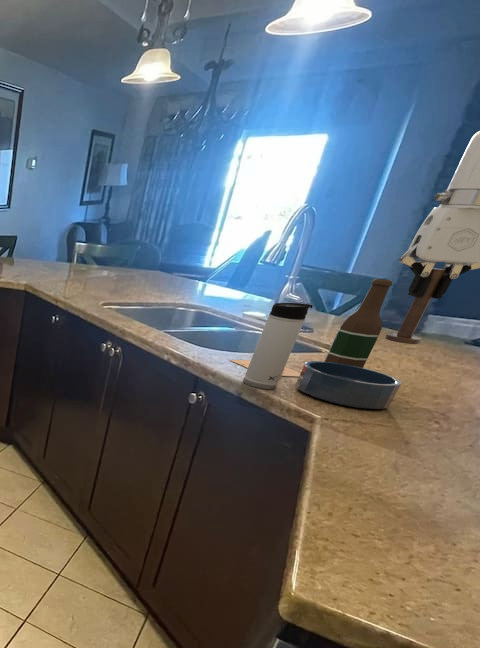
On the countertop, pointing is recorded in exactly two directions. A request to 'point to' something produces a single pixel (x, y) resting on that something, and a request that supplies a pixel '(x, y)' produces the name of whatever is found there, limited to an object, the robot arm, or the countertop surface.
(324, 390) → the bowl
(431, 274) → the wooden post with base
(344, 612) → the countertop surface
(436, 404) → the countertop surface
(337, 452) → the countertop surface
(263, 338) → the travel mug
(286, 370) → the tan flat slab
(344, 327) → the beer bottle
